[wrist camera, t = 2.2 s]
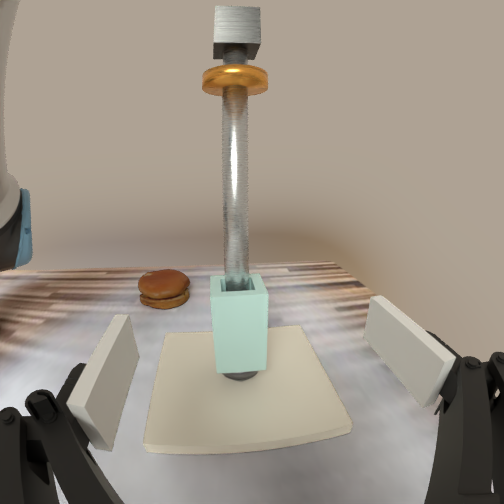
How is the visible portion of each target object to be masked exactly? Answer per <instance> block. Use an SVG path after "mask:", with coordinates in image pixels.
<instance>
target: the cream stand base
mask: <svg viewBox="0 0 504 504" xmlns="http://www.w3.org/2000/svg"><path fill="white" fill-rule="evenodd" d="M352 426H353V422H352V420H351V418H350V416H349V414H348V413H347V411H346V409H345V407H344V405H343V403H342V402H341V400H340V398H339V396H338V394H337V392H336V390H335V389H334V387H333V385H332V383H331V381H330V379H329V378H328V376H327V374H326V372H325V370H324V368H323V367H322V365H321V363H320V361H319V359H318V357H317V356H316V354H315V352H314V350H313V348H312V346H311V345H310V343H309V341H308V339H307V337H306V335H305V334H304V332H303V330H302V328H301V326H300V325H293V326H283V327H272V328H268V332H267V363H266V370H260V371H258V373H257V374H256V375H255V376H254V377H252V378H250V379H247V380H245V381H241V382H239V381H235V380H232V379H229V378H227V377H225V376H224V375H223V374H222V373H218V374H217V370H216V360H215V350H214V339H213V331H212V332H179V333H166V334H165V339H164V343H163V347H162V351H161V355H160V359H159V364H158V368H157V373H156V377H155V382H154V387H153V391H152V396H151V401H150V406H149V411H148V417H147V422H146V428H145V433H144V439H143V445H144V447H145V449H146V451H147V452H149V453H163V454H194V455H198V454H229V453H243V452H254V451H263V450H270V449H278V448H284V447H290V446H296V445H301V444H306V443H311V442H316V441H320V440H325V439H329V438H333V437H337V436H341V435H344V434H348V433H350V431H351V429H352Z"/></svg>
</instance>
